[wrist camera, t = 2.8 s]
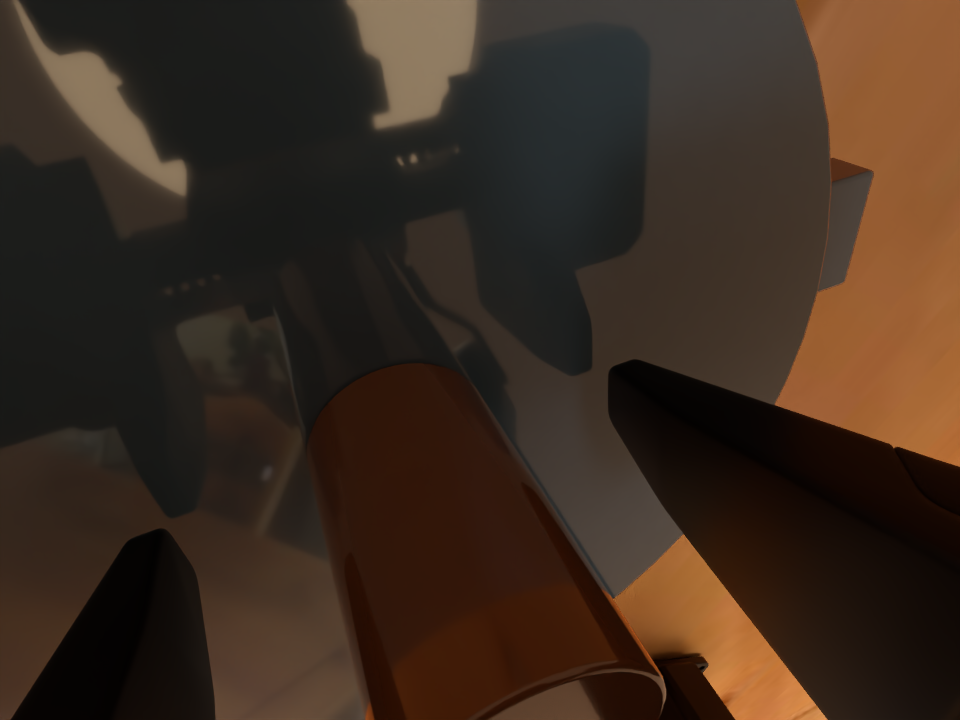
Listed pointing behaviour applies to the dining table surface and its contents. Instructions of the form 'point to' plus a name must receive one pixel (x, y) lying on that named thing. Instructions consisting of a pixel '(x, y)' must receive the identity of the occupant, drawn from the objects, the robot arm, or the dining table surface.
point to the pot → (844, 219)
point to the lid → (384, 324)
